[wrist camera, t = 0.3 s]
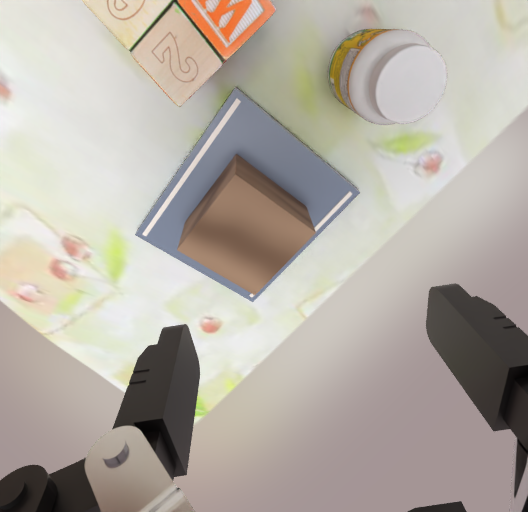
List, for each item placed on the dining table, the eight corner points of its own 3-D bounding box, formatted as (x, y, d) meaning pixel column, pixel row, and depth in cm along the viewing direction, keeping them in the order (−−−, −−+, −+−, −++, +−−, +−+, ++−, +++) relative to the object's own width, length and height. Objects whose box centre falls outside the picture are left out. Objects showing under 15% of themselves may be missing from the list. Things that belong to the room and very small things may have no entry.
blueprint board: (235, 86, 28) (235, 88, 27) (357, 188, 33) (360, 192, 32) (137, 229, 34) (134, 235, 33) (252, 296, 39) (252, 302, 38)
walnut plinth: (236, 153, 30) (235, 174, 25) (306, 206, 32) (315, 232, 28) (185, 221, 33) (177, 250, 28) (253, 264, 36) (255, 295, 31)
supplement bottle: (318, 98, 28) (348, 125, 20) (339, 20, 26) (385, 16, 18) (379, 112, 29) (431, 144, 21) (407, 38, 27) (479, 43, 18)
